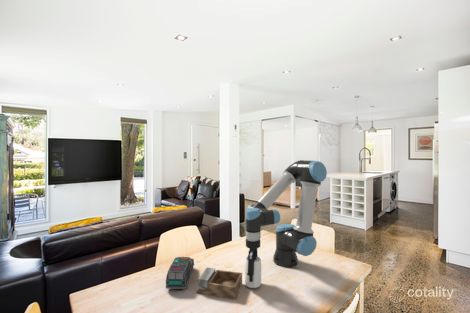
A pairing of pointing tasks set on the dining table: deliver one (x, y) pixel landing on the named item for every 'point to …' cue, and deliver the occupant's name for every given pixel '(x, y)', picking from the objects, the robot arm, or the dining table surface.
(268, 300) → the dining table surface
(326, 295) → the dining table surface
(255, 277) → the cup
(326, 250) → the dining table surface
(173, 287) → the toy van
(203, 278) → the wooden open tray
